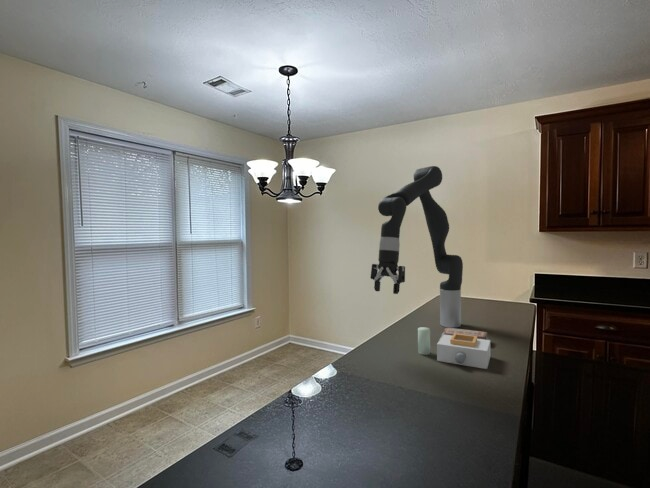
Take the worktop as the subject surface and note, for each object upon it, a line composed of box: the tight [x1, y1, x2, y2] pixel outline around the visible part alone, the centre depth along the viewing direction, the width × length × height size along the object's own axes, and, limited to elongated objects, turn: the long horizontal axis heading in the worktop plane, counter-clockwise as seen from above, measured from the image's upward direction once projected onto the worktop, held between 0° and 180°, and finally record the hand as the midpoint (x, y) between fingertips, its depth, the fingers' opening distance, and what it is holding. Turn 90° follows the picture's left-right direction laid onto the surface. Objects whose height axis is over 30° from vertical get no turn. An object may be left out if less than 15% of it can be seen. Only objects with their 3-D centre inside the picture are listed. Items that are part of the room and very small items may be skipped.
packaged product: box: [438, 327, 489, 342], centre depth 144 cm, size 18×5×10 cm
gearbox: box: [436, 333, 491, 370], centre depth 124 cm, size 15×16×8 cm
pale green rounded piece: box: [417, 326, 431, 356], centre depth 132 cm, size 4×4×9 cm
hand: (386, 292), depth 134 cm, fingers open, 8 cm apart
